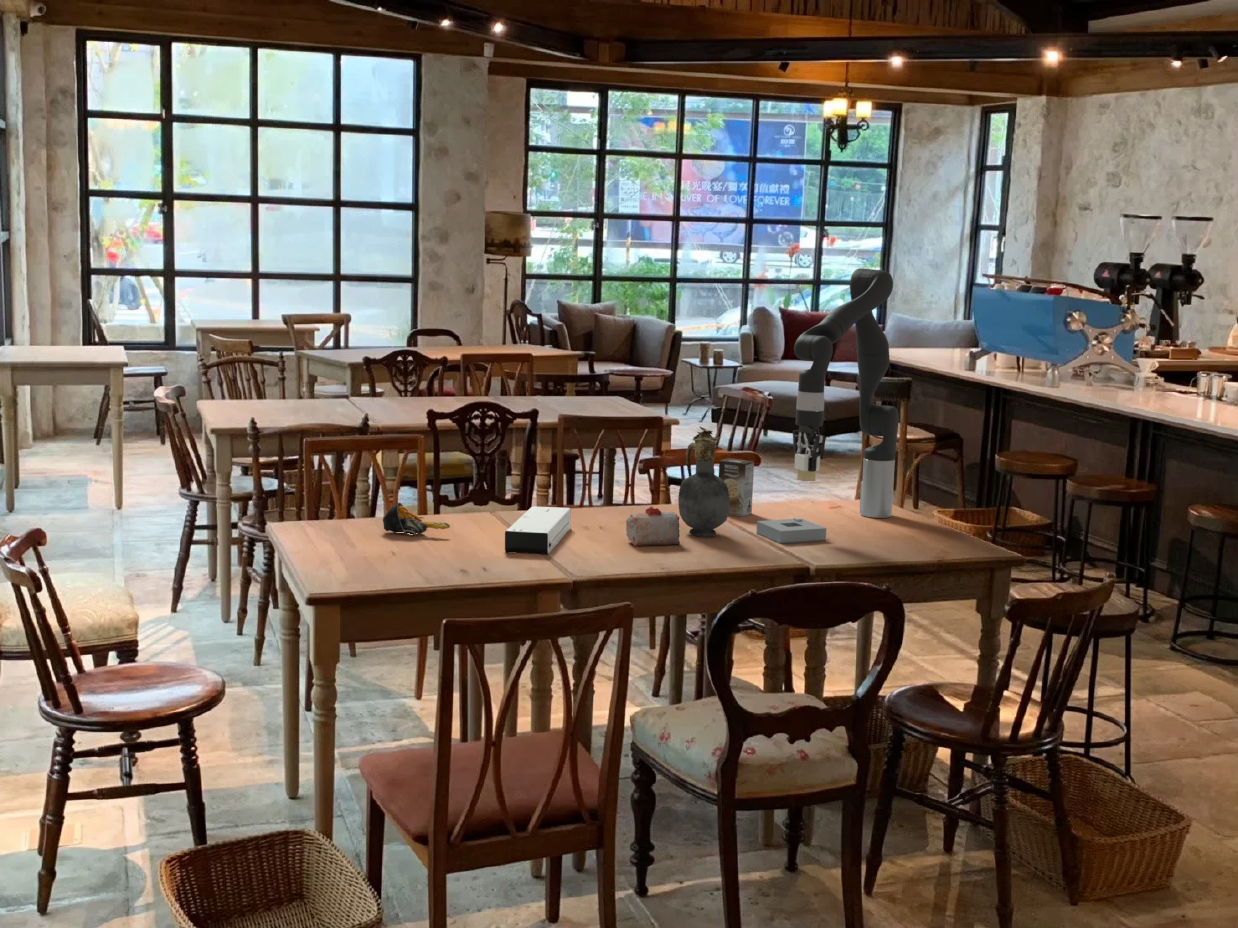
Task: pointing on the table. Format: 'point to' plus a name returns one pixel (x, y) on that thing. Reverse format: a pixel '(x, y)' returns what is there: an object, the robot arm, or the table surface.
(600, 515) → the table surface
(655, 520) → the food item
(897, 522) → the table surface
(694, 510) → the pitcher
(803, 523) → the socket plate
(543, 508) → the laminator
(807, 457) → the plug
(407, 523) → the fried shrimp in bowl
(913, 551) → the table surface
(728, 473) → the coffee box
